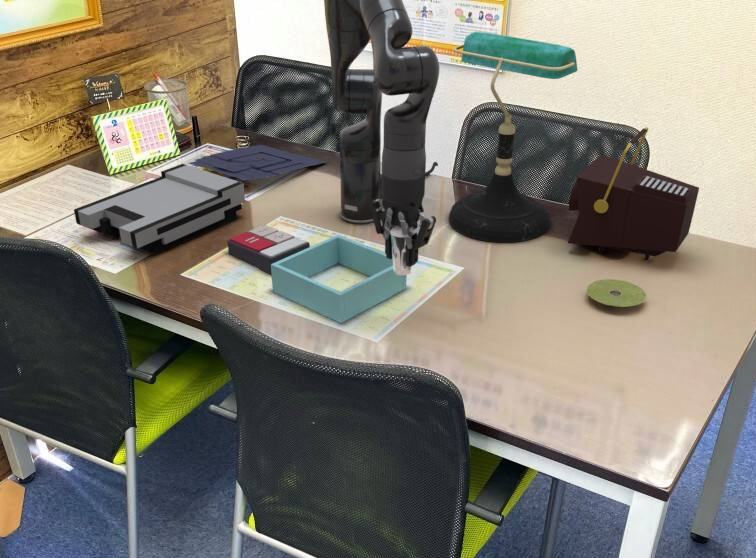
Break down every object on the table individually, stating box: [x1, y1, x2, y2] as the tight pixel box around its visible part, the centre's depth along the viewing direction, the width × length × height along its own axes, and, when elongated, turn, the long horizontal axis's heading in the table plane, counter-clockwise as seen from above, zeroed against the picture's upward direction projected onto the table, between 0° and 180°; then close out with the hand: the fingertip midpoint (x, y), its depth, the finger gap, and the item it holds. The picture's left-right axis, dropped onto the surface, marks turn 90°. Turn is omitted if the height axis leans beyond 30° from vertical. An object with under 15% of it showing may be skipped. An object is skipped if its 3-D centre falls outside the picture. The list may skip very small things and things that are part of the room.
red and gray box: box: [226, 224, 311, 275], centre depth 185 cm, size 11×4×15 cm
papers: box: [187, 144, 327, 181], centre depth 228 cm, size 24×30×4 cm
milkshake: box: [385, 221, 414, 276], centre depth 157 cm, size 4×5×10 cm
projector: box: [567, 126, 700, 262], centre depth 181 cm, size 16×23×25 cm
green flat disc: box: [586, 278, 647, 308], centre depth 169 cm, size 11×11×2 cm
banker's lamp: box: [448, 31, 578, 243], centre depth 189 cm, size 26×23×40 cm
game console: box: [73, 163, 246, 256], centre depth 197 cm, size 21×32×8 cm, turn 141°
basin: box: [270, 234, 408, 324], centre depth 172 cm, size 19×19×6 cm
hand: (401, 260), depth 158 cm, fingers closed on milkshake, 4 cm apart
